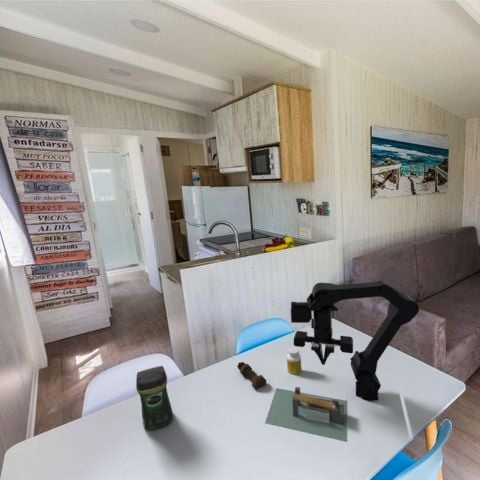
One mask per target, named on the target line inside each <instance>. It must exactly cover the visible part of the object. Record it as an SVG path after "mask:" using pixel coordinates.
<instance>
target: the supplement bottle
mask: <svg viewBox="0 0 480 480" xmlns="http://www.w3.org/2000/svg"><path fill="white" fill-rule="evenodd" d="M286 363H287V364H286V367H287V369H286V371H287V372H288V374H290V375H293V376H296V375H300V374H301V373H302V356H301V354H300V350H299V349H298V348H297V347H290V348H288V350H287V356H286Z"/></svg>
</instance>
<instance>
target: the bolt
mask: <svg viewBox="0 0 480 480" xmlns="http://www.w3.org/2000/svg"><path fill="white" fill-rule="evenodd" d="M236 366H237V369H239V373H240V374H241V375H242V377H244V378H245V377H246V378H247V379H248V380H249V381H250V382H251V383H252V384H251V387H252V388H253V389H254V390H255V391H258V390H260V389H261V388H264V387H265V386H267V379H266V378H265V377H264V376H263V375H262V374H260V375H258V374H257V373H256V372H255V371H253V368H252V366H251V365H249V364H248V363H245V362H244V361H241V362H238V364H237V365H236Z"/></svg>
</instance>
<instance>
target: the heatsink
mask: <svg viewBox="0 0 480 480" xmlns="http://www.w3.org/2000/svg"><path fill="white" fill-rule="evenodd" d="M308 396H309V395H308ZM309 397H313V398H317V399H321V400H325V401H329V402H330V399H326V398H320V397H315V396H309ZM330 410H331V409H327V408H324V407H320V406H316V405H312V404H308V403H307V405H306V420H308V421H313V422H317V423H322V424H327V425H329V423H330Z"/></svg>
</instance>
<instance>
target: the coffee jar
mask: <svg viewBox="0 0 480 480" xmlns="http://www.w3.org/2000/svg"><path fill="white" fill-rule="evenodd" d="M135 381H136V385H135V388H136V392H137V394H138V395H139V398H140V405H141V407H140V408H141V420H142V426H143V429H145V431H149V432H150V431H154V430H157V429H161V428H165V426H168V425H170V424H171V422H172V421H173V419H174V414H173V407H172V404H171V401H170V397H169V393H168V390H167V389H168V387H167V384H168V375H167V372H166V370H165V367H164V365H158V366H154V367H149V368H146V369H143V370H140V371H137V372H136V379H135Z"/></svg>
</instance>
